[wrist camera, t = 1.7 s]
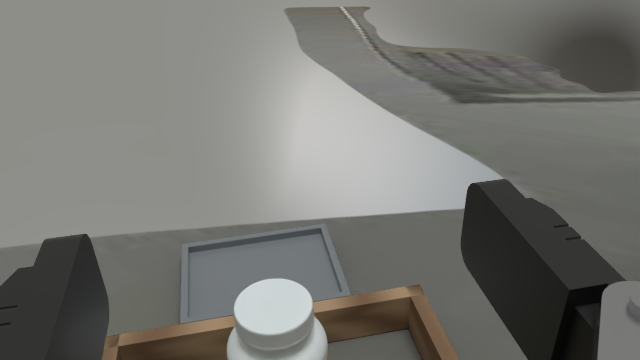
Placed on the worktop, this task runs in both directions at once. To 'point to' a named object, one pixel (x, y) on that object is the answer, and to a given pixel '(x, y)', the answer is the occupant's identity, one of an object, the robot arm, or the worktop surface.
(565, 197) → the worktop surface
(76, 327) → the robot arm
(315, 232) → the tray
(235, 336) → the supplement bottle
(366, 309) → the wooden frame
